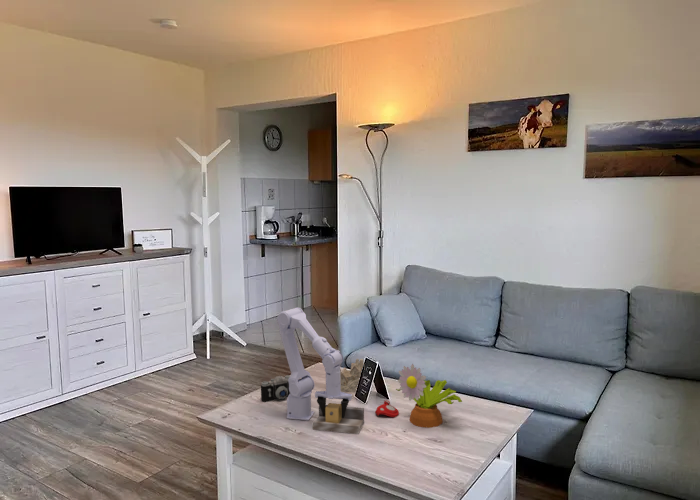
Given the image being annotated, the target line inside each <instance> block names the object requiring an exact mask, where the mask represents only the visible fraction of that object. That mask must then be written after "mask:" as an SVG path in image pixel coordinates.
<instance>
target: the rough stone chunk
mask: <svg viewBox="0 0 700 500" xmlns="http://www.w3.org/2000/svg"><path fill="white" fill-rule="evenodd" d="M363 365H364V366H365V363H364V359H363V358H360V359H359V358H356V359H355V362H351V365H350V369H349V370H348V369H347V368H346V367H344V368H343V369H341V368H340V377H341V392H344V393H356V392H355V391H356V389H357V385H358V382H359V378H360V375H361V371H362V368H363Z"/></svg>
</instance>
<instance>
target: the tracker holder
mask: <svg viewBox="0 0 700 500" xmlns="http://www.w3.org/2000/svg"><path fill="white" fill-rule="evenodd" d="M374 413H375V415H376V416H377V417H379V416H380V415H384V416H388V417H390V418H397V417H399V413H400V411H399V409H397V408H396V407H395V406H393V405H391V401H389V400H387V399H383V403H382V404H380V405H378V406H377V408H376V410H375V411H374Z"/></svg>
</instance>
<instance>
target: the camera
mask: <svg viewBox="0 0 700 500" xmlns="http://www.w3.org/2000/svg"><path fill="white" fill-rule="evenodd" d="M290 375H291V374H290ZM290 375H285V376H282V375H277V376H275V377H274V378H270V380H269V381H266V380H264V381H262V382H261V383H260V395H261V397H260V399H261V402H262V403H268V402H273V401H276V400H284V399H285V398H288V395H289V394H290V391H289V382H288V379H289V377H290Z"/></svg>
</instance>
